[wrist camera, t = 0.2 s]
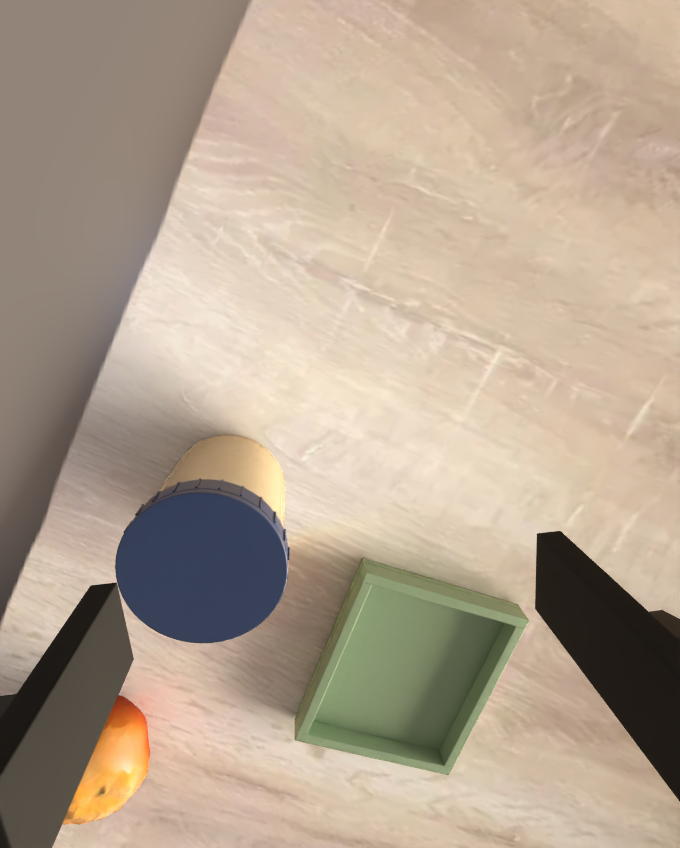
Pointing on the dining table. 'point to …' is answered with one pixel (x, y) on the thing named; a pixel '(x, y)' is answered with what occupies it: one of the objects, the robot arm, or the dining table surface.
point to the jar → (234, 468)
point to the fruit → (113, 765)
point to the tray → (407, 668)
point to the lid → (203, 561)
